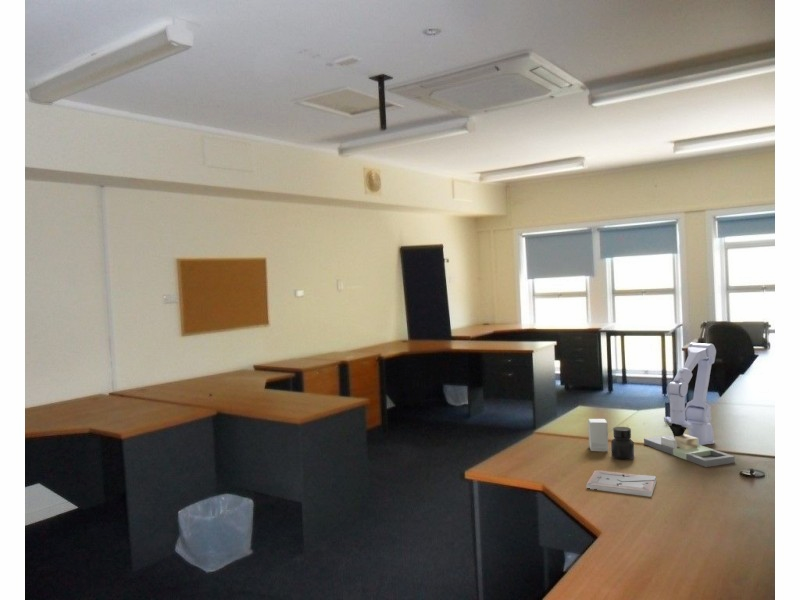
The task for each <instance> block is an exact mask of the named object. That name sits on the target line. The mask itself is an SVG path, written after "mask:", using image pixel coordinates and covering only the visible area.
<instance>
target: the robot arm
mask: <svg viewBox="0 0 800 600" xmlns="http://www.w3.org/2000/svg"><path fill="white" fill-rule="evenodd" d="M716 356H717V348H716V347H715V345H714V344H713V343H701V342H690V343H689V345H688V347H687V358H686V360H685V363H684V366H683V368H678V369H679V370H678V371H677V373H676V375H675V376H674V377H673V380H672V381H670V382H668V384H667V386H666V393H667V396H668V399H669V402H670V417H665V416H664V417H663V421H664V422H665V423H670V424H669V429H670V430H671V432H672V436H674V438H675V436H682V435H683V434H685V432H686V429H687V430H688V435H690V436H693V437H696V438H699V445H702V446H705V445H711V444H715V443H716V442H715V441H714V427H713V425H712V423H710V422H711V420H712V407H711V405H709V404H708V402H707V394H708V388H709V383H710V377H711V376H710V375H711V370H712V365H713V364H715V361H716ZM696 366H697V373H696V377H695V385H694V391H693V397H692V399H691V400H690V401H688V402H685V401H686V399H685V397H686V395H687V394H688V390H689V389H688V388H689V383H690V382H691V379H692V377H693V373H692V371H694V368H695V367H696ZM685 403H687V405H686V408H685ZM696 407H699V408H696ZM702 408H704V409H702ZM685 419H686V420H687V421H686V420H685Z"/></svg>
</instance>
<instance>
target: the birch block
mask: <svg viewBox="0 0 800 600" xmlns="http://www.w3.org/2000/svg"><path fill="white" fill-rule="evenodd" d="M688 435H689V434H687V435H682V436H675V441H677V447H680V448H682V449H685V450H686V449H693V448H697V438H695V437H691V436H688Z"/></svg>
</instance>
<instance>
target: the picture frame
mask: <svg viewBox="0 0 800 600" xmlns="http://www.w3.org/2000/svg"><path fill="white" fill-rule="evenodd" d="M656 483H657V475H656V476H655V475H648V474H635V473H624V472H617V471H606V470H597V469H595V470H594V471H593V472H592V475H591V476H590V477H589V479H588V481H587V482H586V487H585V488H586V489H587V488H590V489H589V490H594V489H597V490H596V491H603V492H609V493H617V494H618V493H619V494H626V495H633V496H635V495H636V496H641V497H642V496H643V497H650V498H651V497H652V496H653V493H654V489H655V486H656Z"/></svg>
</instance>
